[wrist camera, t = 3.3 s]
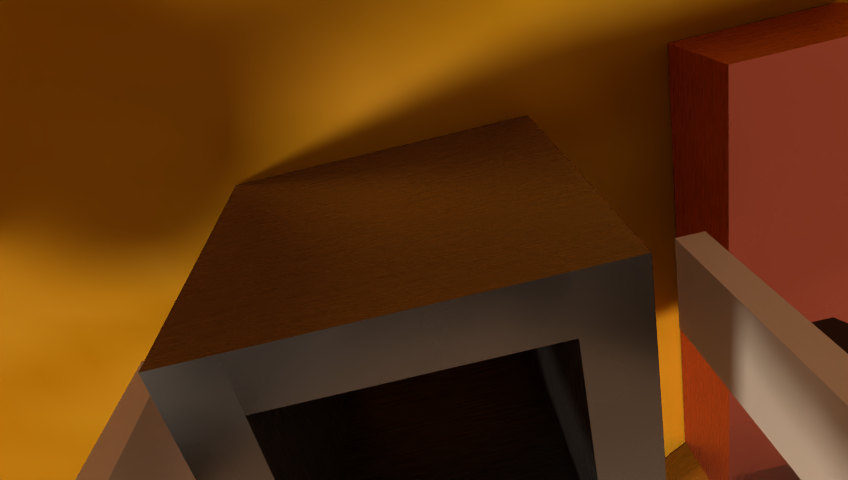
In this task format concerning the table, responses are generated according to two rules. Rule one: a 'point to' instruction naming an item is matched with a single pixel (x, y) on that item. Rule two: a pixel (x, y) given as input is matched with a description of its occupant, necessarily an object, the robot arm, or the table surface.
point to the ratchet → (760, 198)
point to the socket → (417, 324)
